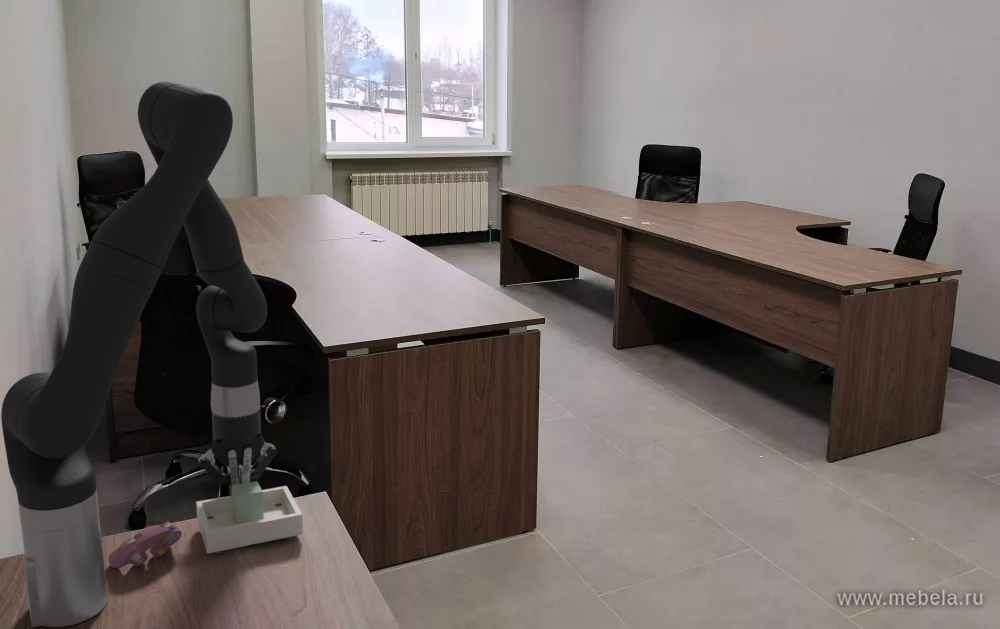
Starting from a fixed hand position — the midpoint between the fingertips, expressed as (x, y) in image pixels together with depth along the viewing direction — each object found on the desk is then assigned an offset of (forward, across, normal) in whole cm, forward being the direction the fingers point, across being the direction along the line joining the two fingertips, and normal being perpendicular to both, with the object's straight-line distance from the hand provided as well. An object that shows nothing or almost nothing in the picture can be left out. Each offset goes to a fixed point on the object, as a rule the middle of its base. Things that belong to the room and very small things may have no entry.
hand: (240, 502), depth 139 cm
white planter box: (+2, 0, -6) cm, 7 cm away
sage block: (0, 0, -7) cm, 7 cm away
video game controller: (+3, -15, -8) cm, 17 cm away
